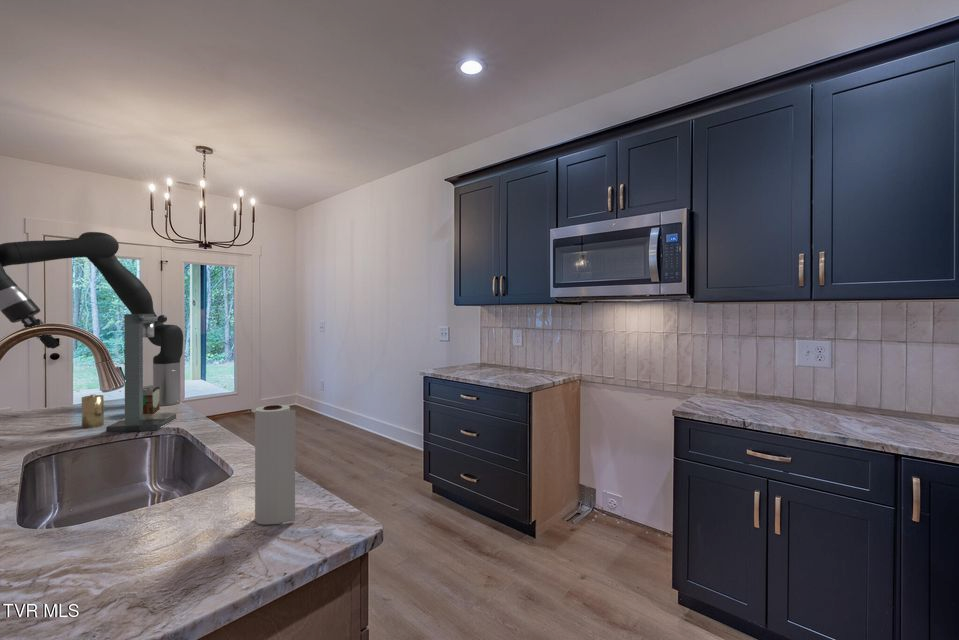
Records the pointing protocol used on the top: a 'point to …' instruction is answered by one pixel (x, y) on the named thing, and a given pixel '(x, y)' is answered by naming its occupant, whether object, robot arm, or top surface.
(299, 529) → the top surface
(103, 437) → the top surface
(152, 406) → the food container
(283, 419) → the paper towel roll
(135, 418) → the press
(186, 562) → the top surface
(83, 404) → the cylinder
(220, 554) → the top surface
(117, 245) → the robot arm
